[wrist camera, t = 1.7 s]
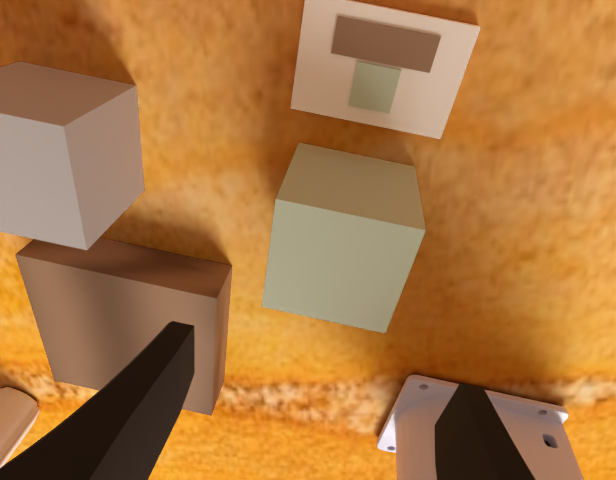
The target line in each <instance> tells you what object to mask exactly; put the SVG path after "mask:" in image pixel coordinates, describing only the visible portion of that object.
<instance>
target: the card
mask: <svg viewBox="0 0 616 480" xmlns="http://www.w3.org/2000/svg"><path fill="white" fill-rule="evenodd" d="M480 29H481V27H480V26H479V25H474V24H469V23H464V22H459V21H454V20H449V19H444V18H439V17H433V16H428V15H423V14H418V13H413V12H408V11H403V10H398V9H393V8H388V7H383V6H378V5H373V4H368V3H363V2H358V1H353V0H305V3H304V11H303V18H302V25H301V33H300V40H299V48H298V55H297V62H296V70H295V77H294V85H293V92H292V99H291V107H290V108H291V109H295V110H300V111H305V112H310V113H315V114H320V115H325V116H330V117H334V118H339V119H344V120H349V121H354V122H359V123H364V124H368V125H373V126H378V127H383V128H388V129H393V130H398V131H403V132H407V133H412V134H417V135H422V136H427V137H432V138H437V139H441V136H442V134H443V131H444V128H445V125H446V123H447V120H448V117H449V114H450V112H451V109H452V106H453V103H454V101H455V98H456V95H457V92H458V90H459V87H460V84H461V81H462V78H463V76H464V73H465V70H466V67H467V65H468V62H469V59H470V56H471V54H472V51H473V48H474V45H475V43H476V40H477V37H478V34H479V32H480Z"/></svg>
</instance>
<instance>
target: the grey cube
mask: <svg viewBox="0 0 616 480" xmlns="http://www.w3.org/2000/svg"><path fill="white" fill-rule="evenodd" d="M144 191H145V188H144V175H143V162H142V149H141V137H140V124H139V111H138V99H137V86H136V85H133V84H128V83H123V82H118V81H113V80H108V79H103V78H99V77H94V76H89V75H84V74H79V73H74V72H69V71H65V70H60V69H55V68H50V67H45V66H40V65H35V64H31V63H26V62H21V61H19V62H15V63H12V64H9V65H6V66H3V67H0V232H4V233H9V234H13V235H18V236H23V237H27V238H32V239H37V240H41V241H46V242H51V243H55V244H60V245H65V246H69V247H74V248H79V249H83V250H88V249H89V248H90V247H91V246H92V245H93V244H94V243H95V242H96V240H97V239H98V238H99V237H100V236H101V235H102V234H103V233H104V232H105V231H106V230H107V229H108V228H109V227H110V226H111V225H112V224H113V223H114V222H115V221H116V220H117V219H118V218H119V217H120V216H121V215H122V214H123V213H124V211H125V210H126V209H127V208H128V207H129V206H130V205H131V204H132V203H133V202H134V201H135V200H136V199H137V198H138V197H139V196H140V195H141V194H142V193H143V192H144Z"/></svg>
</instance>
